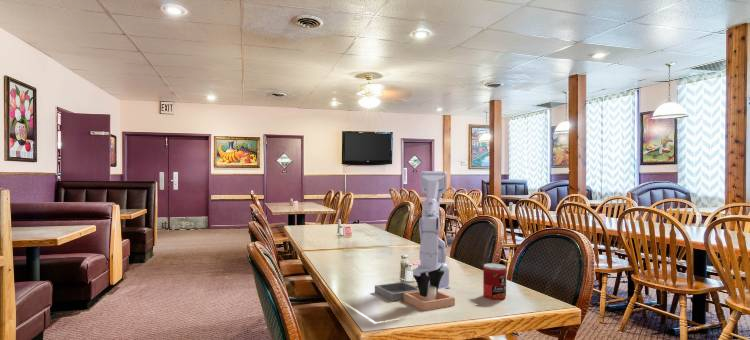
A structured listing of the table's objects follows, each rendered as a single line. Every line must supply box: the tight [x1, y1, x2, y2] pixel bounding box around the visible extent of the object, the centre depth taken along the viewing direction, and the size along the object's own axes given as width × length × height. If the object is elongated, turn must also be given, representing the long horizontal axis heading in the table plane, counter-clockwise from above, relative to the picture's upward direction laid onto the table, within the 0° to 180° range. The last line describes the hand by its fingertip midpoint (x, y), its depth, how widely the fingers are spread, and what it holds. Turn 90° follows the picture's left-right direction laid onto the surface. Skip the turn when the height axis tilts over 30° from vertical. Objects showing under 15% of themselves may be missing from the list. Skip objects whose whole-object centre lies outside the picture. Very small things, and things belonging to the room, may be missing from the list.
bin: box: [374, 281, 419, 303], centre depth 148 cm, size 12×12×3 cm
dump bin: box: [402, 290, 456, 312], centre depth 139 cm, size 12×12×3 cm
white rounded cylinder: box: [421, 285, 437, 301], centre depth 139 cm, size 5×5×5 cm
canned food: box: [482, 262, 507, 301], centre depth 149 cm, size 8×8×11 cm
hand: (428, 294), depth 139 cm, fingers open, 6 cm apart
